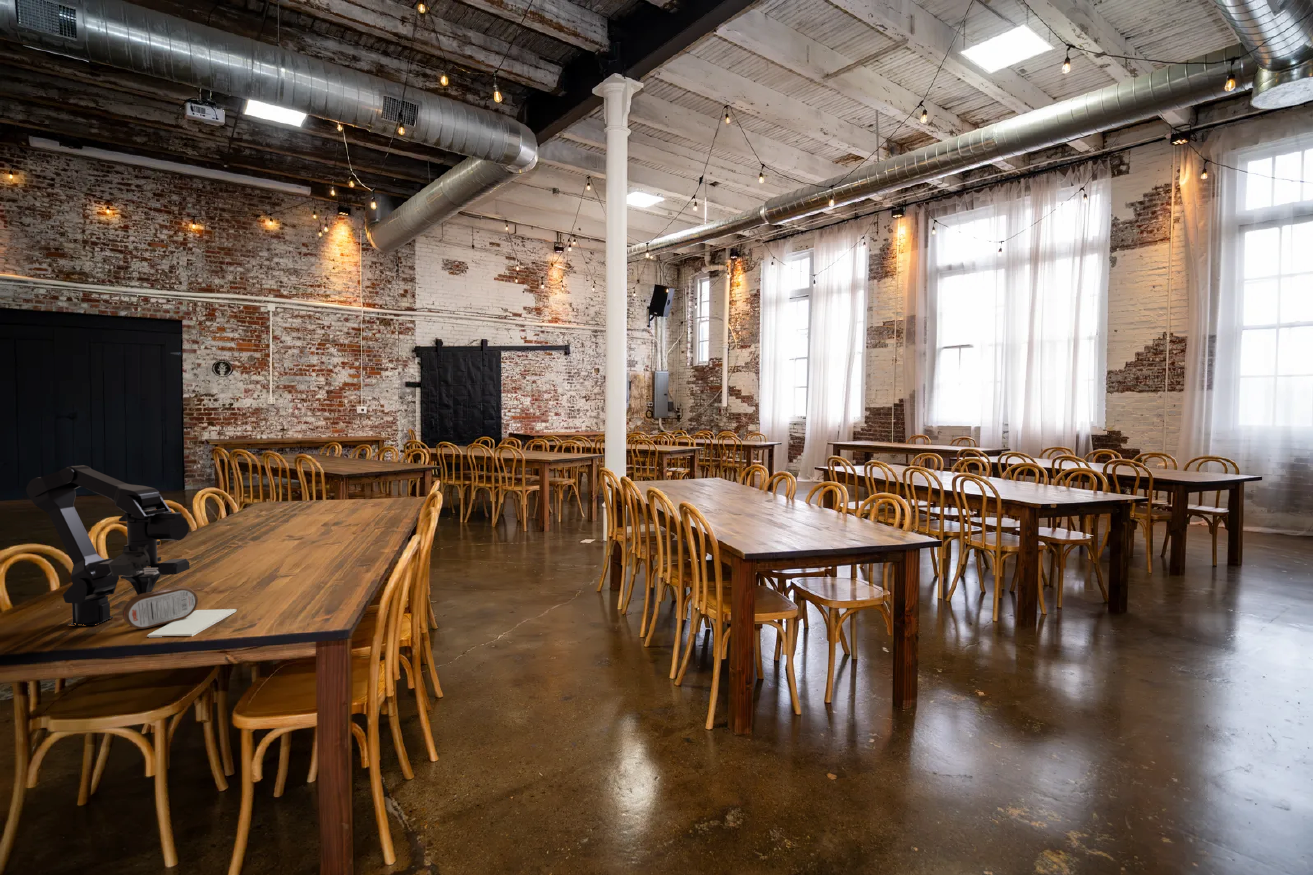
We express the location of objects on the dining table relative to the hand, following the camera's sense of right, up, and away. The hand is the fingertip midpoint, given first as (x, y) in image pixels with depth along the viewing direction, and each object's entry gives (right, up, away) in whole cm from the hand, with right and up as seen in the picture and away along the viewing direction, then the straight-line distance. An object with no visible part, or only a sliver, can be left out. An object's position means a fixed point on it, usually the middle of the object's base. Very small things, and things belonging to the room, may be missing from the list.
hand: (144, 601), depth 161 cm
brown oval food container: (+4, -6, +1) cm, 7 cm away
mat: (+11, -6, +2) cm, 13 cm away
